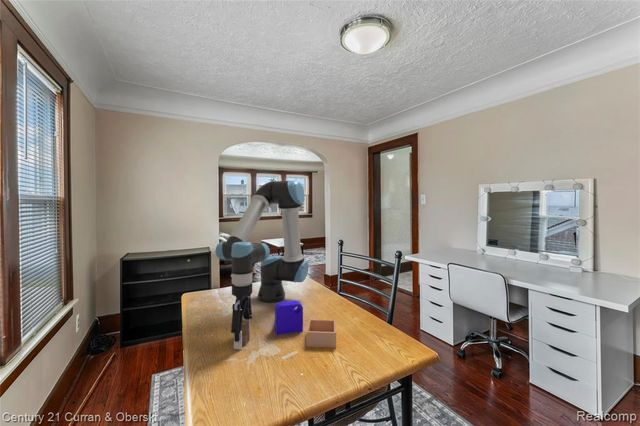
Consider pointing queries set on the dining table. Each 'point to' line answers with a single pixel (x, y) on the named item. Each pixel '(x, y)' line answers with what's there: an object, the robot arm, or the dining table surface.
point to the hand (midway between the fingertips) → (242, 342)
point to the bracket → (288, 317)
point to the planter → (321, 333)
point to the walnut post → (245, 332)
